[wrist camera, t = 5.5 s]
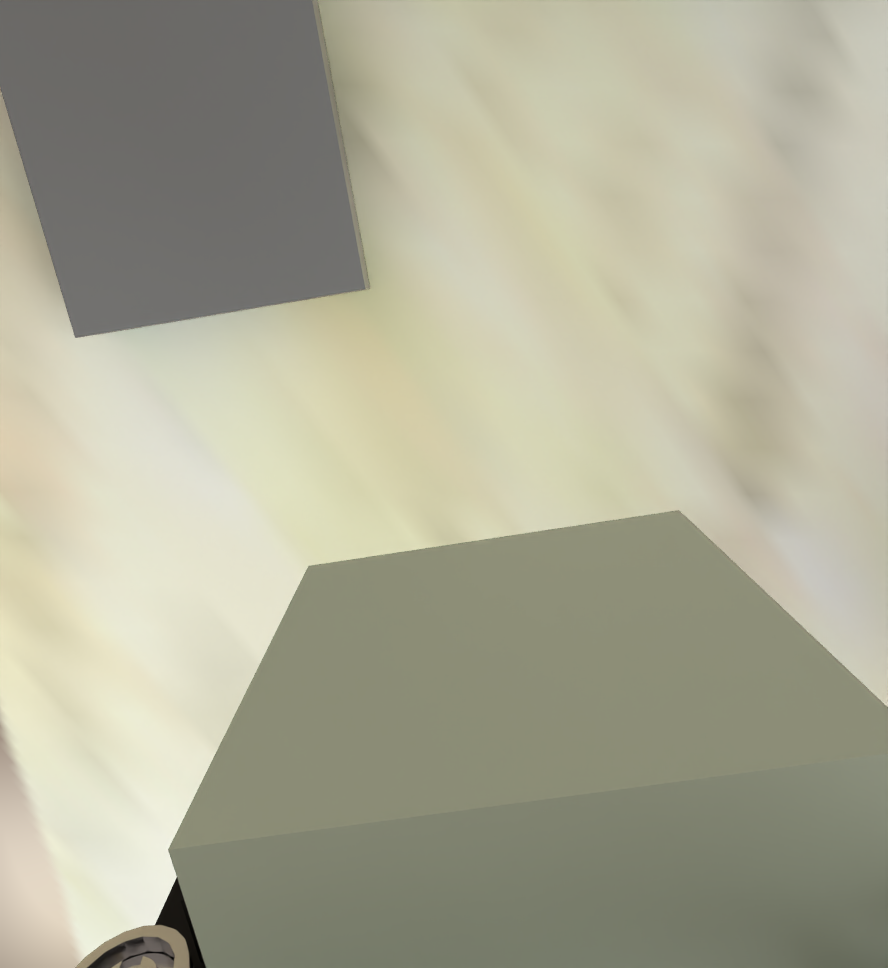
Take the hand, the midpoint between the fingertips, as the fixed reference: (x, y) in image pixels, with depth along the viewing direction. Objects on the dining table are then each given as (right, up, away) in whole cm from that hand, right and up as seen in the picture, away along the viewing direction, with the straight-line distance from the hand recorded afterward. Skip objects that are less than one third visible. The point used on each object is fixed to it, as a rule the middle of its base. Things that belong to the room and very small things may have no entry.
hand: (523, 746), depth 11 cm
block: (0, 0, +1) cm, 1 cm away
